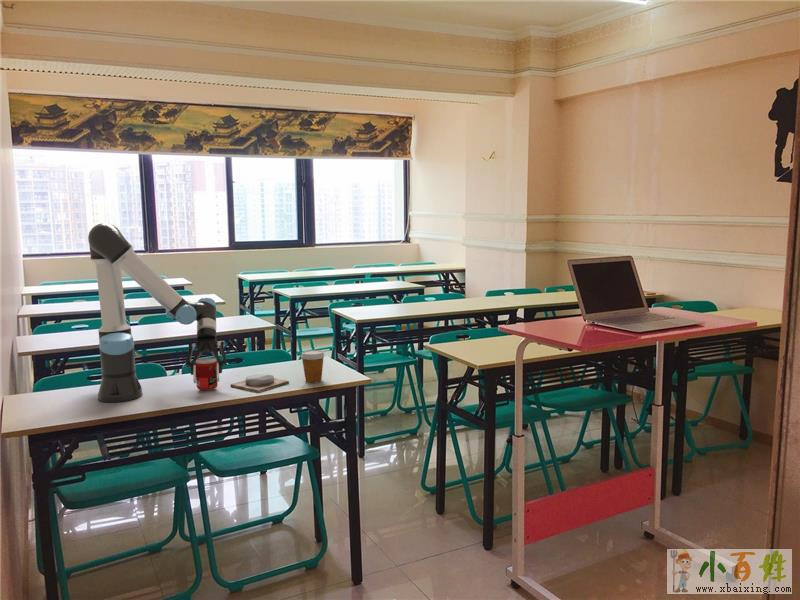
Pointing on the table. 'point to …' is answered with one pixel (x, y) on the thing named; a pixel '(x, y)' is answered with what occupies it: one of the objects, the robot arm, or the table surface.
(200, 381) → the canned food
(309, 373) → the disposable coffee cup
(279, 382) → the seat plate
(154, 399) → the table surface
